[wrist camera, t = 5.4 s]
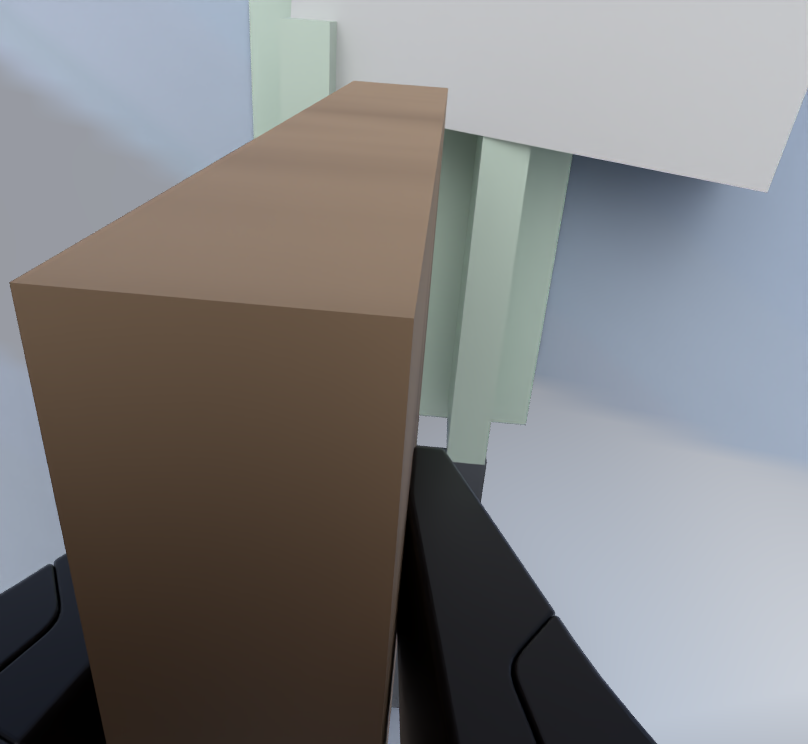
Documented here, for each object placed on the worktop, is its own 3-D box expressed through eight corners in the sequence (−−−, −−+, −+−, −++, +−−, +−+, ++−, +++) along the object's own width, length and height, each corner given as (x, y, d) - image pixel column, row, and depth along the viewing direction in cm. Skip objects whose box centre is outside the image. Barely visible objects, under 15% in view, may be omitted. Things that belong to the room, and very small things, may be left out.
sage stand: (524, 414, 21) (535, 485, 18) (268, 391, 21) (234, 456, 18) (592, 13, 16) (626, 13, 13) (254, -11, 16) (206, -17, 13)
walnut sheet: (413, 476, 15) (350, 1116, 6) (341, 469, 15) (180, 1095, 6) (448, 87, 12) (414, 317, 3) (353, 80, 12) (10, 280, 3)
